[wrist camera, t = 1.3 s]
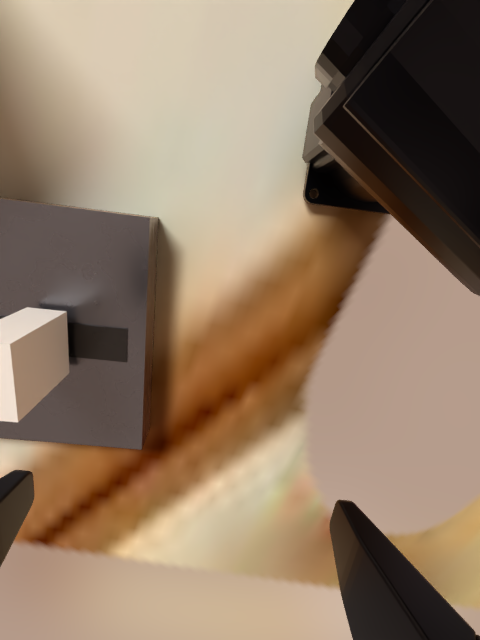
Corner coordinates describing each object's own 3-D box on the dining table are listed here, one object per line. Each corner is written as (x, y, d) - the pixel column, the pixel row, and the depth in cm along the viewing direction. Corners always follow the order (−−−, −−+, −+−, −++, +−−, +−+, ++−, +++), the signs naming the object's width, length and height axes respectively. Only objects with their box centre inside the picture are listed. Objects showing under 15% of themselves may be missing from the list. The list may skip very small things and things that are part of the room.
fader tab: (66, 311, 17) (8, 345, 12) (69, 373, 18) (16, 423, 13) (27, 307, 17) (-46, 339, 12) (32, 369, 18) (-34, 419, 13)
